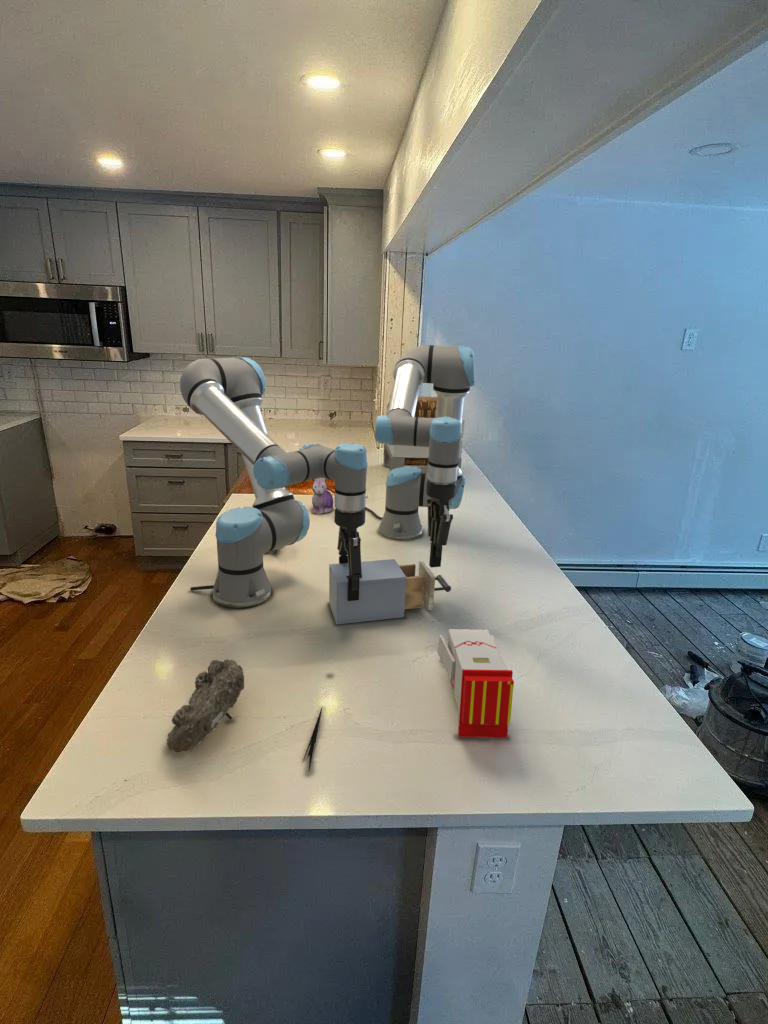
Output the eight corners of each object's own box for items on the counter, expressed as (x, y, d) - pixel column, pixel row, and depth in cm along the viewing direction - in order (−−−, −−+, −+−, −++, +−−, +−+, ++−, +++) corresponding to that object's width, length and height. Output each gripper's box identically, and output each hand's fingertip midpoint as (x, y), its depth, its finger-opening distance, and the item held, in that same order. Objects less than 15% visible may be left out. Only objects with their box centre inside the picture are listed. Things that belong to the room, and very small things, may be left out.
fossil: (192, 660, 117) (244, 628, 112) (224, 691, 120) (276, 661, 115) (142, 746, 98) (202, 712, 93) (182, 779, 101) (242, 748, 96)
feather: (331, 679, 122) (336, 673, 122) (307, 777, 96) (313, 769, 95) (324, 675, 122) (329, 669, 121) (298, 772, 95) (304, 764, 95)
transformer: (382, 463, 289) (386, 382, 275) (445, 464, 293) (451, 384, 279) (390, 482, 257) (394, 392, 243) (460, 483, 261) (468, 394, 247)
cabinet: (392, 597, 156) (394, 558, 152) (404, 617, 146) (406, 576, 142) (329, 603, 151) (329, 564, 147) (336, 624, 141) (336, 583, 137)
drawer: (439, 590, 158) (441, 559, 155) (451, 607, 149) (454, 574, 146) (363, 597, 153) (364, 565, 149) (372, 616, 144) (373, 582, 141)
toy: (488, 613, 130) (523, 677, 101) (484, 667, 133) (517, 744, 104) (435, 612, 130) (455, 676, 101) (432, 666, 133) (451, 743, 103)
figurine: (315, 516, 213) (315, 477, 208) (306, 507, 221) (306, 470, 216) (338, 512, 217) (339, 475, 212) (328, 504, 225) (329, 468, 220)
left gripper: (376, 524, 128) (373, 610, 135) (355, 492, 149) (353, 568, 157) (344, 526, 126) (342, 613, 133) (326, 494, 147) (326, 570, 155)
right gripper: (465, 488, 136) (457, 575, 145) (446, 472, 148) (439, 554, 157) (436, 489, 135) (429, 578, 143) (419, 473, 146) (413, 556, 155)
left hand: (348, 589), depth 145 cm, fingers closed on cabinet, 11 cm apart
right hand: (434, 565), depth 150 cm, fingers closed
